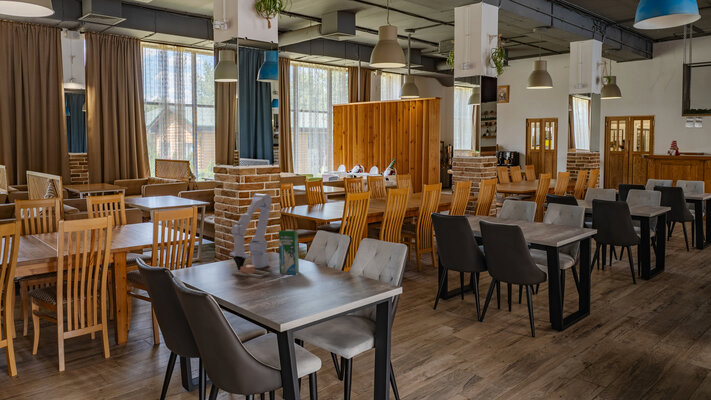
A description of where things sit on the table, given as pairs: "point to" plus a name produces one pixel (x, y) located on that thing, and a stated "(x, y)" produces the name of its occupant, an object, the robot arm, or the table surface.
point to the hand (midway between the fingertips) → (240, 269)
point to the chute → (254, 274)
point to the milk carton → (288, 252)
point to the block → (248, 269)
